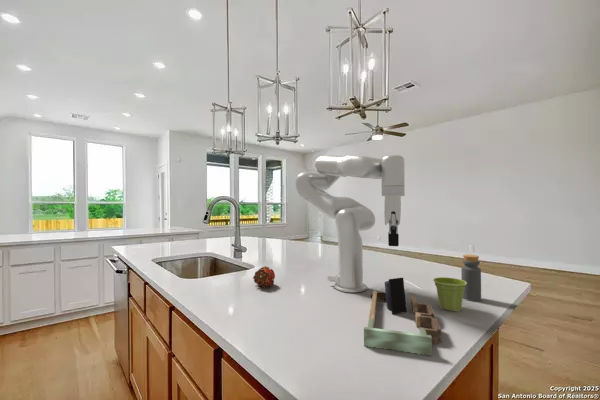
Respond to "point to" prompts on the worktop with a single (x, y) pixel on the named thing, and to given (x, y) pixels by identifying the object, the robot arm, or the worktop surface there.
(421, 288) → the white baseball bat
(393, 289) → the black blue bulged block
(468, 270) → the bottle
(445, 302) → the plant pot
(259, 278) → the dragon fruit
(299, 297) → the worktop surface
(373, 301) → the trap channel
